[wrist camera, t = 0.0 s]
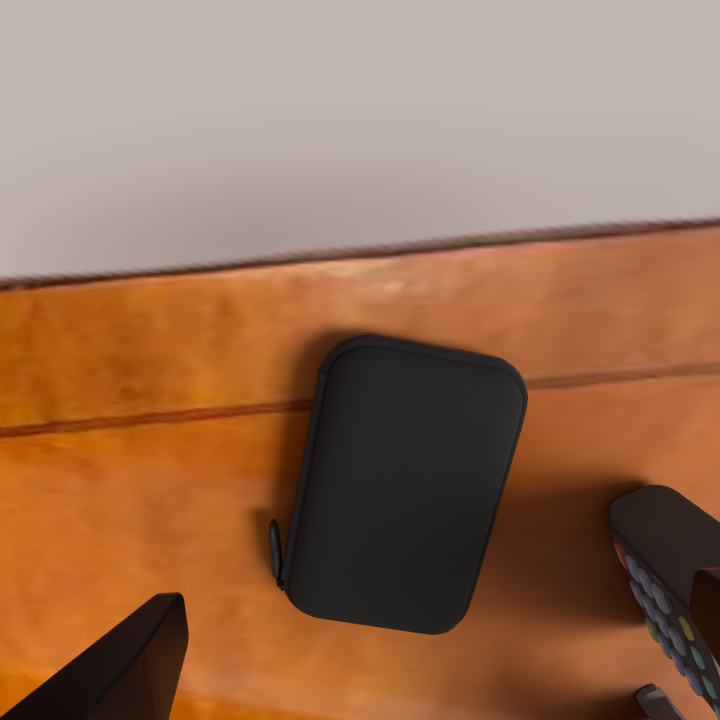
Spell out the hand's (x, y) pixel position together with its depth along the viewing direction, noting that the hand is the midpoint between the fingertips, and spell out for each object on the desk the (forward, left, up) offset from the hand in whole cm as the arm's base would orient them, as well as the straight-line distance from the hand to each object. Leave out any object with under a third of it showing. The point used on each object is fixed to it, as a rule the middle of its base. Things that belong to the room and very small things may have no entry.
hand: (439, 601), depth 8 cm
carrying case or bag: (-5, 0, -15) cm, 16 cm away
